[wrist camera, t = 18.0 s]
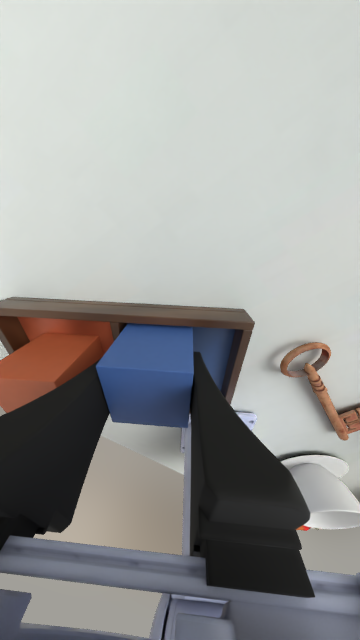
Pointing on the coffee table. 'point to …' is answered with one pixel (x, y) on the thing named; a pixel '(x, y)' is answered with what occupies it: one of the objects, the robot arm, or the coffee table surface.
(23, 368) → the terracotta block
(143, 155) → the coffee table surface
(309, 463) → the teacup
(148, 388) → the blue block
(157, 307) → the sorter
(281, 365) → the key
